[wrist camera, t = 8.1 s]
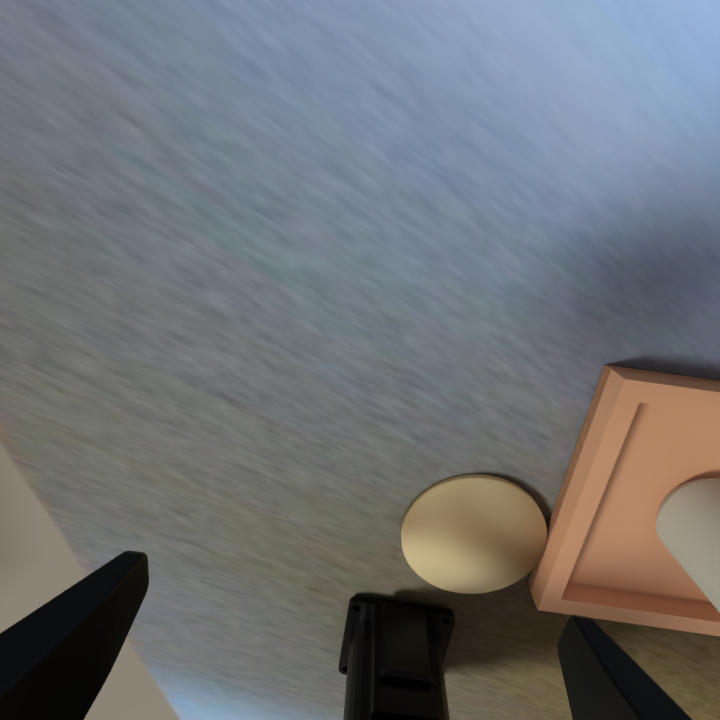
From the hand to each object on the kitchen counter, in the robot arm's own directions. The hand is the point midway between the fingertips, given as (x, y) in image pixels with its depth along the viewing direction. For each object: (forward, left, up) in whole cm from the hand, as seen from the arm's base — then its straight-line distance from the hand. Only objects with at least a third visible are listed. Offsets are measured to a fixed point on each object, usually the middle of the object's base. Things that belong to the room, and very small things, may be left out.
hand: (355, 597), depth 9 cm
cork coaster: (-9, -7, -13) cm, 17 cm away
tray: (-5, -18, -13) cm, 23 cm away
